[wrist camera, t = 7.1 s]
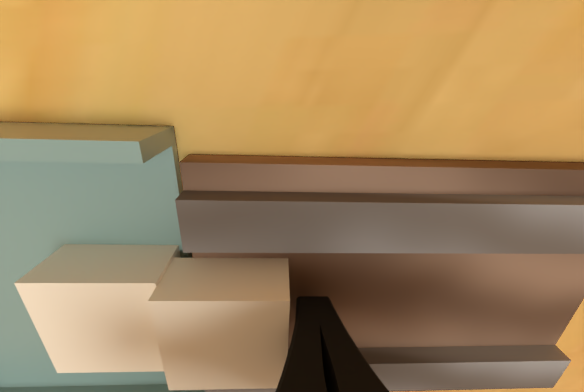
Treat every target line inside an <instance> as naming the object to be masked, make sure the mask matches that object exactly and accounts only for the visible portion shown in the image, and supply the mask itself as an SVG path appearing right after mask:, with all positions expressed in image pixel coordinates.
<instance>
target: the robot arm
mask: <svg viewBox="0 0 584 392" xmlns="http://www.w3.org/2000/svg"><path fill="white" fill-rule="evenodd" d="M275 392H389V391H388V389H387V388H386V387H385V386H384V384H383V383H382V382H381V380H380V379H379V378H378V376H377V375H376V374H375V372H374V371H373V369H372V368H371V367H370V365H369V364H368V362H367V361H366V359H365V358H364V357H363V355H362V354H361V352H360V351H359V349H358V347H357V346H356V344H355V343H354V341H353V339H352V338H351V336H350V335H349V333H348V331H347V330H346V328H345V326H344V325H343V323H342V321H341V319H340V318H339V316H338V314H337V312H336V310H335V308H334V306H333V304H332V302H331V300H330V298H329V297H328V296H299V297H298V298H297V299H296V315H295V325H294V330H293V335H292V339H291V344H290V348H289V351H288V354H287V358H286V361H285V365H284V368H283V371H282V374H281V377H280V380H279V383H278V386H277V389H276V391H275Z"/></svg>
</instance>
